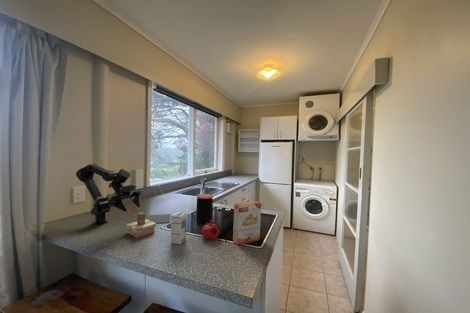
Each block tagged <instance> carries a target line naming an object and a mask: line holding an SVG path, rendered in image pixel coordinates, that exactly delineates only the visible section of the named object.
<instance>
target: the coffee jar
mask: <svg viewBox="0 0 470 313" xmlns="http://www.w3.org/2000/svg"><path fill="white" fill-rule="evenodd" d="M213 197H214V195H213V194H212V193H211V194H210V193H199V194H197V195H196V212H195V213H196V214H195V215H196V216H195V217H196V219H195V222H196V223H197V225H201V226H205V224H206V225H207V224H208V223H209V224H210V221H212V222H213V212H214V210H213V207H214V206H213V205H214V199H213Z"/></svg>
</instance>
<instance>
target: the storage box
mask: <svg viewBox="0 0 470 313" xmlns="http://www.w3.org/2000/svg"><path fill="white" fill-rule="evenodd" d="M154 232H155V227H154V228H151V229H148V230H145V231H142V232H139V233H135V232H133V231H131V230H129V229H127V234H130V235H131V236H133V237H134V238H136V239H138V238H141V237H143V236H146V235H150V234H152V233H154Z"/></svg>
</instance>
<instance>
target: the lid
mask: <svg viewBox="0 0 470 313" xmlns="http://www.w3.org/2000/svg"><path fill="white" fill-rule="evenodd" d="M145 218H146V213H145V212H138V213H137V219H136V220H137V221H133V222H130V223H126V224H125V228H126V229H127V230H128V229H129V230H131V231H133V232H135V233H139V232H142V231H145V230H148V229H151V228H154V229H155V228H157V224H156V223H154V222H152V221H149V220H147V219H145Z"/></svg>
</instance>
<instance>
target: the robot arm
mask: <svg viewBox="0 0 470 313" xmlns="http://www.w3.org/2000/svg"><path fill="white" fill-rule="evenodd" d="M94 174H96V175H97V176H100V177H101V179H102V180H103V181H104V182H109V184H108V188H112V190H113V191H114V193H113V196H111V197H110V199H109V197H107V196H105V197H104V196H103V195H102V193H101V191H100V189H99V188H98V186H97V184H96V182H95V180H94V176H95V175H94ZM75 176H76V178H78V181H80V182H82V183H84V185H85V186H86V189H87V190H88V193H89V195H90V196H91V197H92V200H93V204H92V206H93V207H92V208H91V211H90V214H91V215H92V216H94V221H92V223H93V224H94V225H95V226H99V225H103V224H106V223H109V221H108V220H107V213H110V211H111V207H114V208H117V209H118V210H121V211H122V212H125V213H126V212H127V211H128V210H127V208H126V206H125V205H124V203H123V201H124V200H127V199H130V200H131V202H132V203H133V204H134V205H135V206H136V207H138V208H140V206H141V204H140V196H141V195H142V192H141V191H140V190H136V189H137V185H136V184H135V183H131V184H129V185H124V184H125V183H126V182H127V181H128V180H129V178H130V177H131V172H129V171H127V170H125V169H124V168H122V169H121V168H120V169H119V171H116V170H111V169H109V170H108V169H106V168H103V167H101V166H99V165H98V164H96V163H95V164H94V163H93V164H91V163H89V164H87V165H86V166H84V167H82V168H80V169H78V170H77V171H76V172H75ZM135 190H136V191H135Z"/></svg>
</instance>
